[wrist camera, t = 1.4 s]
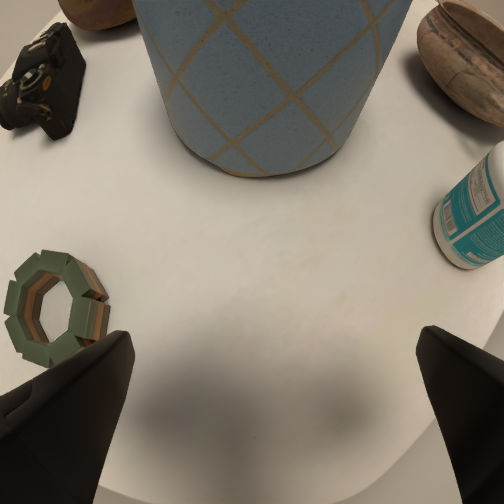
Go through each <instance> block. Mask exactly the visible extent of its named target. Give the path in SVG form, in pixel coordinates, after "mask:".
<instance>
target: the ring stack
mask: <svg viewBox="0 0 504 504" xmlns="http://www.w3.org/2000/svg"><path fill="white" fill-rule="evenodd" d="M14 275H15V277H16V280H17V282H16V281H12V280H10V281H9V286H8V291H7V296H6V301H5V307H4V314H6V315H9V316H10V317H9V318H8V319H7V320H6V321H5V322H4V323H5V325H6V328H7V330H8V333H9V335H10V338H11V340H12V343H13V345H14V347H15V350H16V352H18V353H23V356H22V358H23V359H25V360H27V361H30V362H32V363H35V364H38V365H40V366H43V367H45V368H52V367H53V366H55V365H57V364H59V363H60V362H62V361H64V360H65V359H67V358H69V357H71V356H72V355H74V354H76V353H77V352H79V351H81V350H83V349H84V348H86V347H88V346H89V345H91V344H93V343H95V342H96V340H100V339H102V338H103V337H105V336H106V330H107V323H108V317H109V311H110V306H109V305H106V304H104V303H102V302H104V301H105V300H106V299H107V298H109V297H108V295H107V293H106V292H105V290H104V288H103V286H102V285H101V283H100V281H99V279H98V278H97V276H96V274H95V272H94V270H92V269H91V268H89V267H87V265H85V264H84V263H82V262H81V261H79V260H78V259H76V258H74V257H73V256H71V255H70V254H68V253H62V252H55V251H49V250H42V251H41V255H39V254H37V253H36V252H35V253H34V254H33V255H32V256H31V257H29V258H28V259H27V260H26V261H25V262H24V263H23V264H22V265H21V266H20V267H19V268H18V269H17V270H16V271H15V272H14ZM59 280H63V281H65V283H66V285H67V287H68V289H69V291H70V293H71V295H72V297H73V302H72V307H71V313H70V319H69V325H68V330H67V331H66V332H65V333H64V334H62V335H61V336H60V337H59V338H58V339H56V340H55V341H54V342H53V343H50V342H49V341H48V339H47V337H46V335H45V333H44V331H43V329H42V327H41V325H40V322H39V314H40V308H41V303H42V297H43V295H44V294H45V293H46V292H47V291H48V290H49V289H50V288H51V287H53V286H54V285H55V284H56V283H57V282H58V281H59Z"/></svg>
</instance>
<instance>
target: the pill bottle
mask: <svg viewBox="0 0 504 504" xmlns="http://www.w3.org/2000/svg"><path fill="white" fill-rule="evenodd" d="M433 228H434V234H435V237H436V240H437V242H438V245H439V247H440V248H441V250H442V252H443V253H444V254H445V256H446V257H447V258H448V259H449V260H450V261H451V262H452V263H454V264H455V265H457V266H458V267H461V268H464V269H476V268H479V267H481V266H483V265H485V264H487V263H489V262H491V261H493V260H495V259H497V258H499V257H500V256H502V255H504V141H501V142H499V143H498V144H497V145H496V146H495V147H494V148H493V149H492V150H491V151H490V152H489V153H488V154H487V155H486V156H485V157H484V158H483V159H482V160H481V161H480V162H479V163H478V164H477V165H476V166H475V167H474V168H473V169H472V170H471V171H470V172H469V173H468V174H467V175H466V176H465V177H464V178H463V179H462V180H461V181H460V182H459V183H458V184H457V185H456V186H455V187H454V188H453V189H452V190H451V191H450V192H449V193H448V194H447V195H446V196H445V197H444V198H443V199H442V200H441V201H440V202H439V203H438V205H437V207H436V209H435V212H434V216H433Z"/></svg>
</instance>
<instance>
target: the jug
mask: <svg viewBox="0 0 504 504" xmlns="http://www.w3.org/2000/svg"><path fill="white" fill-rule="evenodd" d="M58 2H59V5H60V7H61V9H62V11H63V13H64V14H65V16H66V17H67V19H68V20H69V21H70V22H72V23H73V24H74V25H76V26H77V27H79V28H81V29H83V30H90V31H94V30H102V29H107V28H111V27H115V26H118V25H121V24H123V23H126V22H128V21H130V20H133V19H134V18H136V13H135V10H134V6H133V3H132V0H58Z"/></svg>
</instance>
